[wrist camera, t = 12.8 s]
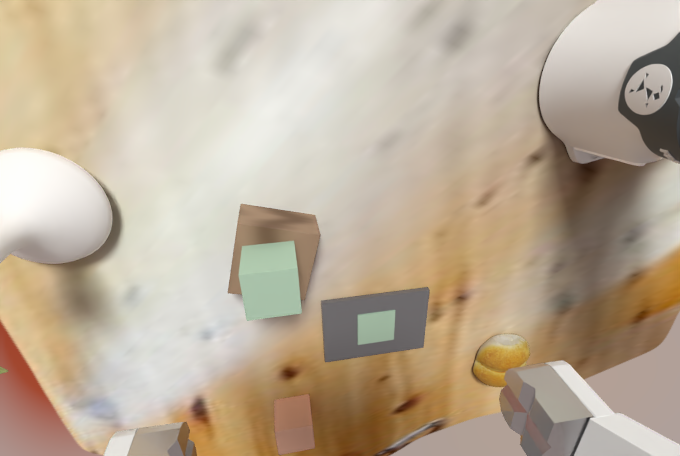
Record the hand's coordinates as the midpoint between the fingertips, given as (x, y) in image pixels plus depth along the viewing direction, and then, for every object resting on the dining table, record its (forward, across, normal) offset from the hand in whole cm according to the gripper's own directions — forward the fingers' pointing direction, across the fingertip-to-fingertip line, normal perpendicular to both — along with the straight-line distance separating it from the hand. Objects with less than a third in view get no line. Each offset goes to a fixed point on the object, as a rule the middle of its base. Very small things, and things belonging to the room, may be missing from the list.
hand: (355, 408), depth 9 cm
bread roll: (+31, -28, +35) cm, 55 cm away
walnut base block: (+31, +3, +12) cm, 33 cm away
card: (+31, -9, +26) cm, 41 cm away
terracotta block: (+31, +3, +40) cm, 50 cm away
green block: (+26, +4, +12) cm, 29 cm away
